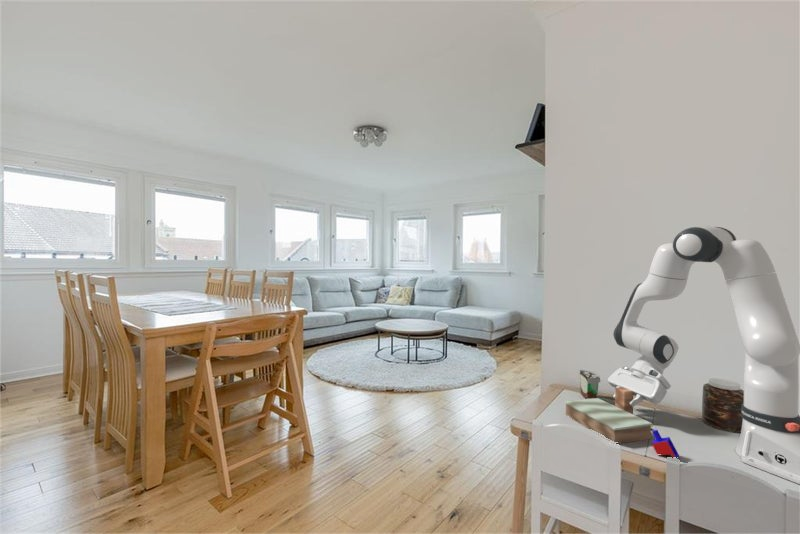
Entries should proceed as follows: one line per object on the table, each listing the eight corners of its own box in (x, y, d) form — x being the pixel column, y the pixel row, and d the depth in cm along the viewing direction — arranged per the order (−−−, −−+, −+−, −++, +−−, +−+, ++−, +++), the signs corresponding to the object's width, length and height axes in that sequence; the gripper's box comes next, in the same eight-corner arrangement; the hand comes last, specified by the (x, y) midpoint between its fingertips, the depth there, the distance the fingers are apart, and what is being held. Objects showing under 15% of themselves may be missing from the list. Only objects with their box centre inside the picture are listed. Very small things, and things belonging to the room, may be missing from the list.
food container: (604, 404, 146) (605, 379, 146) (587, 403, 147) (588, 378, 147) (594, 393, 158) (595, 370, 158) (579, 392, 159) (579, 369, 159)
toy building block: (663, 457, 109) (649, 429, 112) (679, 455, 107) (664, 427, 109) (661, 462, 107) (646, 433, 109) (677, 460, 104) (661, 431, 107)
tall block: (633, 418, 133) (633, 390, 133) (624, 419, 132) (624, 391, 132) (623, 413, 137) (624, 387, 137) (614, 414, 136) (615, 387, 136)
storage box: (652, 439, 117) (652, 423, 117) (614, 444, 114) (614, 428, 114) (597, 411, 139) (597, 398, 139) (564, 414, 136) (564, 401, 136)
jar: (753, 428, 125) (754, 384, 125) (736, 435, 120) (737, 389, 120) (711, 415, 136) (712, 375, 136) (694, 421, 131) (695, 379, 131)
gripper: (616, 360, 146) (595, 386, 144) (665, 375, 126) (642, 406, 124) (625, 370, 147) (605, 397, 145) (675, 387, 128) (652, 418, 125)
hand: (622, 402), depth 134 cm, fingers open, 5 cm apart
